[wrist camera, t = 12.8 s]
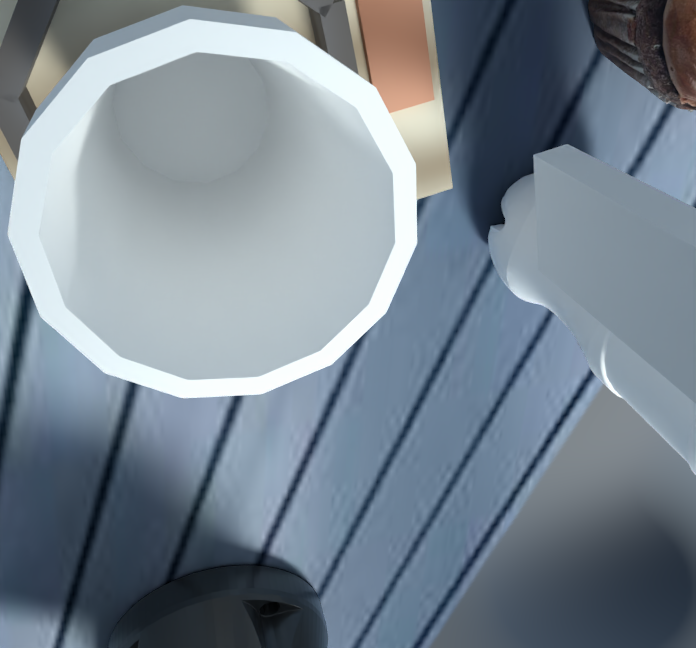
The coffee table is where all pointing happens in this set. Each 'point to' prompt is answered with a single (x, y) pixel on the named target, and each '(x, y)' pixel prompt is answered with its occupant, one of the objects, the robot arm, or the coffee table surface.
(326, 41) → the socket board
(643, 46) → the cupcake
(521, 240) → the water bottle
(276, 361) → the foam cup
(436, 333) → the coffee table surface
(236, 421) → the coffee table surface
